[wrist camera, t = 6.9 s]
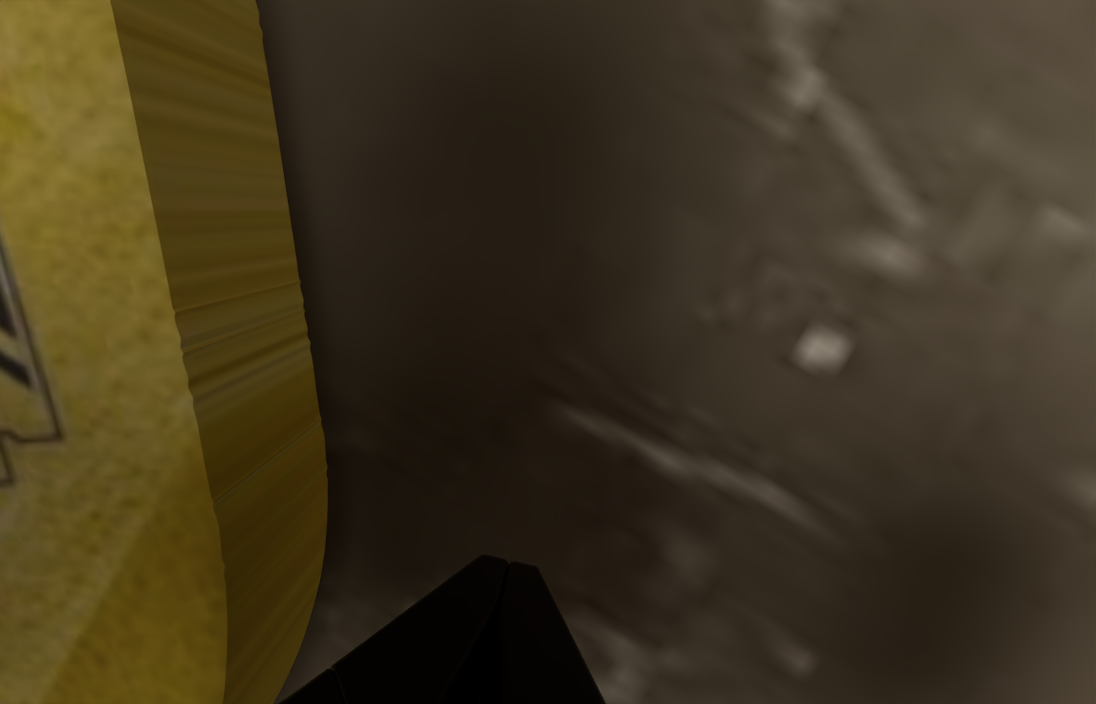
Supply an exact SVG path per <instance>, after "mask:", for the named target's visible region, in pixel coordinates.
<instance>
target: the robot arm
mask: <svg viewBox="0 0 1096 704" xmlns="http://www.w3.org/2000/svg"><path fill="white" fill-rule="evenodd" d="M480 692H481V693H480ZM479 697H480V698H479ZM478 701H479V702H478ZM279 704H606V703H605V701H604V699H603V697H602V695H601V693H600V691H599V689H598V687H597V685H596V683H595V681H594V679H593V677H592V675H591V673H590V671H589V669H588V667H587V665H586V663H585V661H584V659H583V657H582V655H581V653H580V651H579V649H578V647H577V645H576V643H575V641H574V639H573V637H572V635H571V633H570V631H569V629H568V627H567V625H566V623H565V621H564V619H563V617H562V615H561V613H560V611H559V609H558V607H557V605H556V603H555V601H554V599H553V597H552V595H551V593H550V591H549V589H548V587H547V585H546V583H545V581H544V579H543V577H542V575H541V573H540V571H539V569H538V568H537V567H536V566H534V565H529V564H524V563H520V562H515V561H514V562H511V563H510V564H509V566H508V561H507V560H505V559H502V558H498V557H493V556H489V555H481V556H479V557H478V558H476V559H475V560H474V561H472V562H471V563H470V564H468V565H467V566H465V567H464V568H463V569H461V570H460V571H459V572H457V573H456V574H455V575H453V576H452V577H451V578H449V579H448V580H447V581H445V582H444V583H443V584H441V585H440V586H439V587H437V588H436V589H434V590H433V591H432V592H430V593H429V594H428V595H426V596H425V597H424V598H422V599H421V600H420V601H418V602H417V603H416V604H414V605H413V606H412V607H410V608H409V609H408V610H406V611H405V612H403V613H402V614H401V615H399V616H398V617H397V618H395V619H394V620H393V621H391V622H390V623H389V624H387V625H386V626H385V627H383V628H382V629H381V630H379V631H378V632H377V633H375V634H374V635H372V636H371V637H370V638H368V639H367V640H366V641H364V642H363V643H362V644H360V645H359V646H358V647H356V648H355V649H354V650H352V651H351V652H350V653H348V654H347V655H346V656H344V657H343V658H341V659H340V660H339V661H337V662H336V663H335V664H333V665H332V666H331V669H326V670H325V671H324V672H322V673H321V674H319V675H318V676H317V677H315V678H314V679H313V680H311V681H310V682H309V683H307V684H306V685H305V686H303V687H302V688H300V689H299V690H297V691H296V692H295V693H293V694H292V695H290V696H289V697H287V698H286V699H285V700H283V701H282V702H280V703H279Z"/></svg>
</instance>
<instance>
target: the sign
mask: <svg viewBox="0 0 1096 704" xmlns="http://www.w3.org/2000/svg"><path fill="white" fill-rule="evenodd" d="M259 17H260V15H259V11H258V7H257V4H256V0H0V704H273V703H274V701H275V700H276V698H277V696H278V694H279V692H280V690H281V689H282V687H283V685H284V683H285V681H286V679H287V677H288V675H289V672H290V670H291V668H292V666H293V664H294V661H295V659H296V656H297V654H298V651H299V649H300V646H301V644H302V641H303V638H304V635H305V632H306V629H307V626H308V623H309V620H310V616H311V613H312V609H313V606H314V602H315V598H316V595H317V590H318V586H319V582H320V577H321V571H322V565H323V559H324V551H325V542H326V530H327V510H328V478H327V475H326V473H327V468H328V466H327V463H326V451H325V437H324V432H323V429H322V425H321V420H322V418H321V417H320V411H319V405H318V399H317V392H316V384H315V376H314V368H313V361H312V355H311V352H310V344H311V343H310V340H309V339H308V336H307V332H308V327H307V323H306V320H305V316H304V313H305V310H304V308H303V303H304V300H303V295H302V292H301V289H300V283H301V281H300V280H299V274H298V267H297V260H296V253H295V246H294V240H293V233H292V226H291V220H290V213H289V206H288V200H287V193H286V186H285V180H284V173H283V166H282V160H281V153H280V146H279V140H278V133H277V126H276V120H275V114H274V108H273V102H272V96H271V90H270V83H269V77H268V71H267V65H266V60H265V54H264V48H263V41H262V38H263V32H262V30H261V27H260V25H259Z"/></svg>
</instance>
